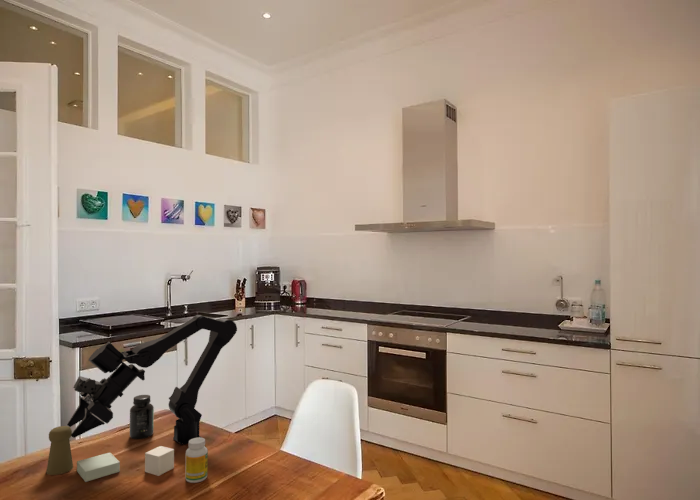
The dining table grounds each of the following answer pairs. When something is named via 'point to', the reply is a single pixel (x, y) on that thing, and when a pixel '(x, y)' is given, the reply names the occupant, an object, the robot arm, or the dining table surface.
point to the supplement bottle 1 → (141, 417)
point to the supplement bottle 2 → (196, 461)
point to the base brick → (98, 466)
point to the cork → (59, 451)
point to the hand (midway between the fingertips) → (70, 431)
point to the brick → (159, 460)
